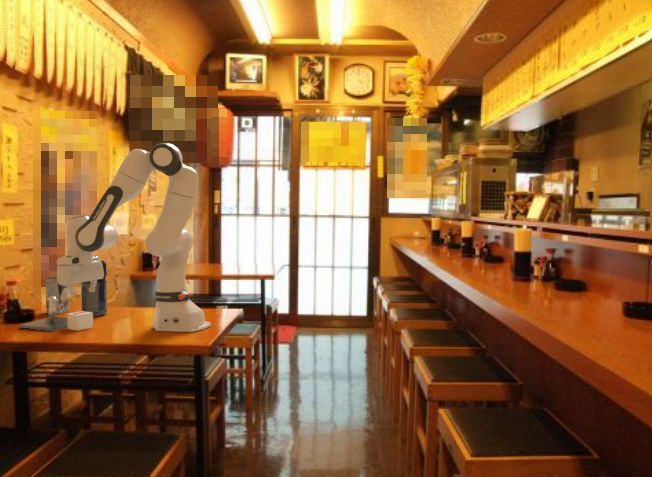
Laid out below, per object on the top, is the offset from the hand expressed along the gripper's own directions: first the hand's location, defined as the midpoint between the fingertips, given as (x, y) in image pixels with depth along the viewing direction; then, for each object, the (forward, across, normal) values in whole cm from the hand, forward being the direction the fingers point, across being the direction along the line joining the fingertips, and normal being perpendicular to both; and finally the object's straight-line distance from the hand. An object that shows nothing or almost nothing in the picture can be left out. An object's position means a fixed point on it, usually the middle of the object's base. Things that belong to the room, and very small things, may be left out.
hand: (82, 293), depth 192 cm
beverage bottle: (+13, -22, -14) cm, 29 cm away
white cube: (+14, 0, -2) cm, 14 cm away
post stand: (+13, 0, -15) cm, 20 cm away
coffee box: (+12, -21, -35) cm, 43 cm away
